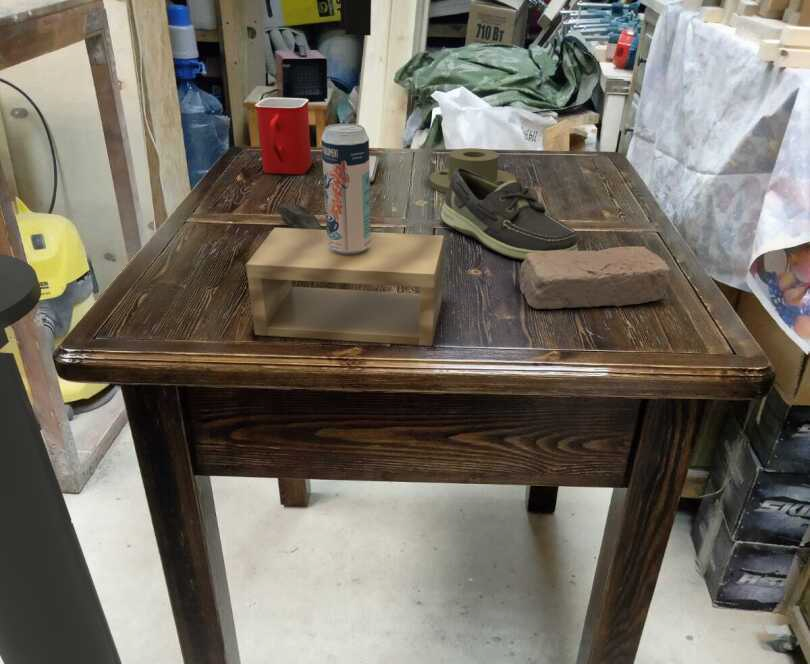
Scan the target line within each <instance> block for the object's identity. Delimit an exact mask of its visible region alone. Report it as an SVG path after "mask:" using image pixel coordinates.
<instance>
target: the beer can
mask: <svg viewBox="0 0 810 664" xmlns="http://www.w3.org/2000/svg"><path fill="white" fill-rule="evenodd" d="M369 137H370V136H368V133H367V131H366V129H365V127H364V125H362V124H356V123H334V124H333V123H332V124H328V125H327V126H325V127H324V130H323V132H322V135H321V154H322V156H321V157H322V173H323V190H324V192H323V193H324V209H325V210H324V211H325V230H327V245H328V247H329V248H330V249H332V250H334V251H335V252H337V253H340V254H358V253H361V252H363V251H364V250H366V249H367V248H369V247H370V245H371V232H372V231H371V229H372V228H371V226H372V225H371V182H370V170H369V156H370V138H369Z"/></svg>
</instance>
